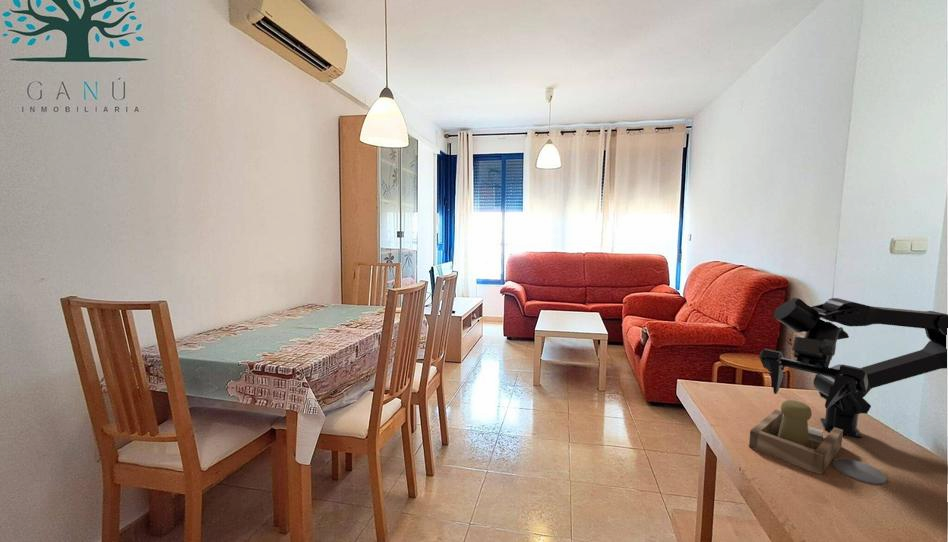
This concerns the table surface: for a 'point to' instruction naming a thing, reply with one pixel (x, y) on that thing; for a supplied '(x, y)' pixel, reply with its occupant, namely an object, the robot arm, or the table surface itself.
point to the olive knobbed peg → (795, 422)
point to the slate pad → (859, 471)
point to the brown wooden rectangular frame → (794, 445)
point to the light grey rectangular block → (815, 436)
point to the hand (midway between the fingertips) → (799, 399)
